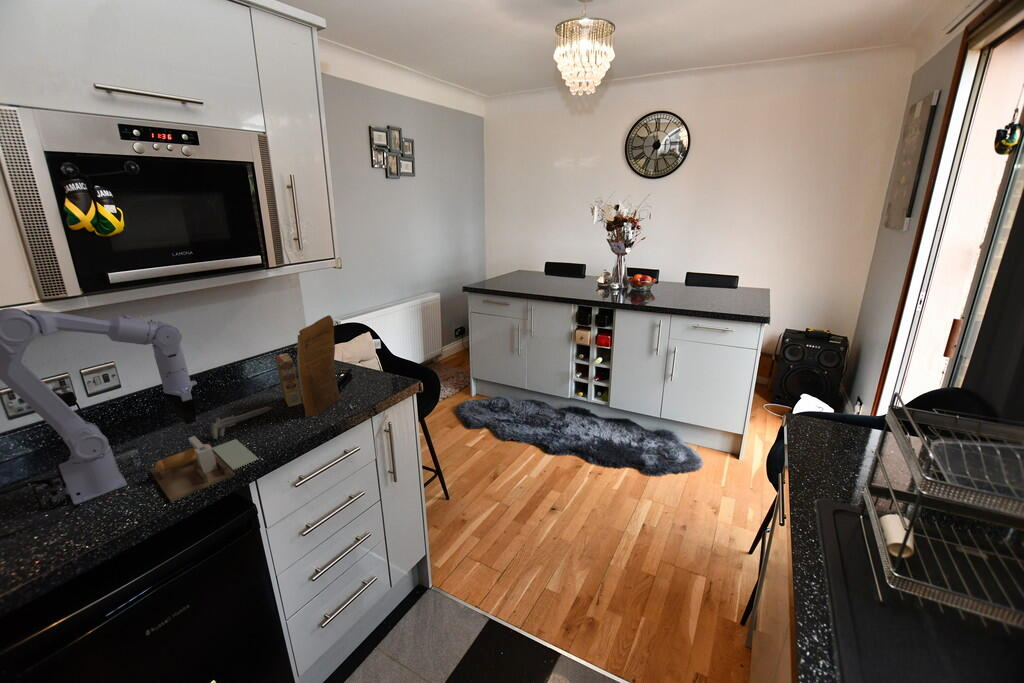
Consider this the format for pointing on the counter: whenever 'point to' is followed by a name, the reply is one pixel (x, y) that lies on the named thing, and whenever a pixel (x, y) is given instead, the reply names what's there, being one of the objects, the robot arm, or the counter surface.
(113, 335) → the robot arm
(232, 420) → the caliper
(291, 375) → the candy box
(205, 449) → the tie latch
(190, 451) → the orange sausage
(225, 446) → the mat
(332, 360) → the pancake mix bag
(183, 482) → the clamp board
